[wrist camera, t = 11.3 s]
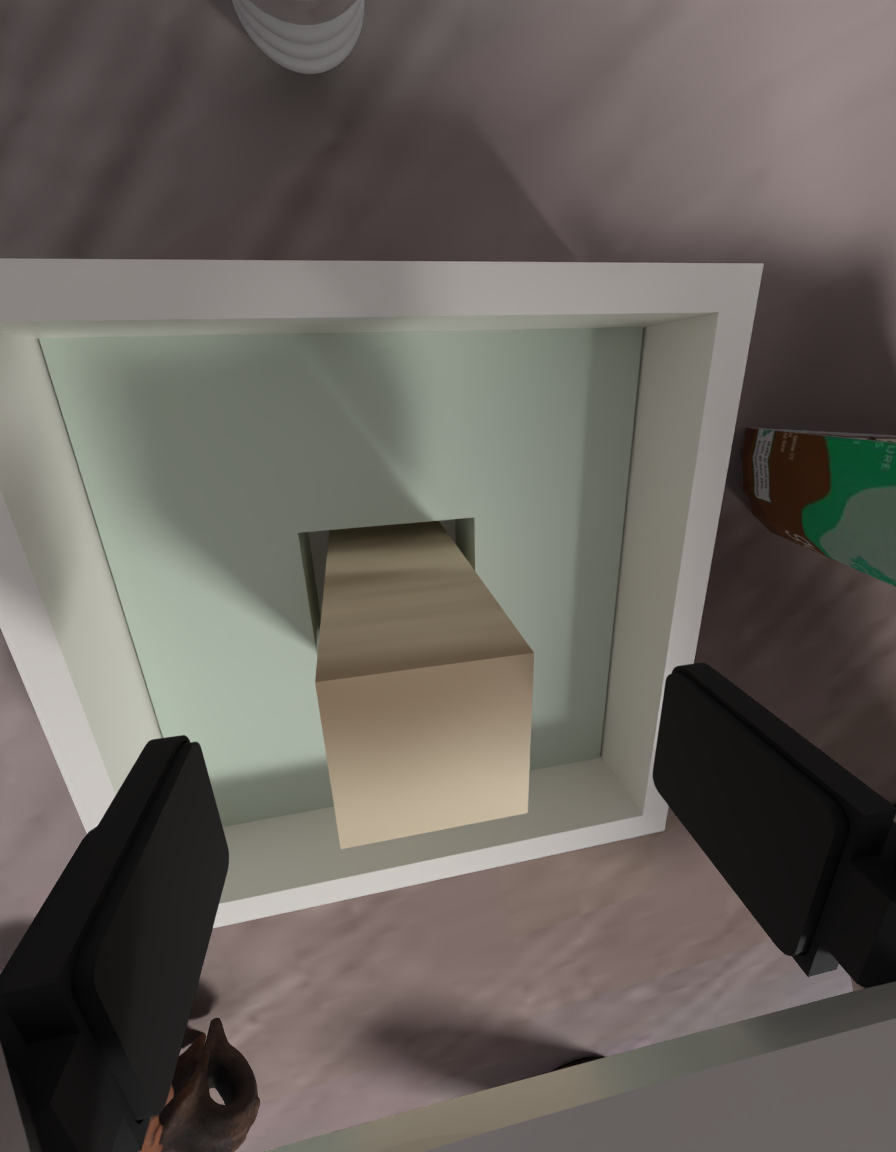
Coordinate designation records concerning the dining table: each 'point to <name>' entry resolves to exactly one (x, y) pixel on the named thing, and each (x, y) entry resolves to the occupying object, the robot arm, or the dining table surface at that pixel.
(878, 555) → the food container
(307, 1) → the light bulb
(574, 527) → the bore plate
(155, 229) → the dining table surface
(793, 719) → the dining table surface
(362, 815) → the maple peg
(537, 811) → the open box
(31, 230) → the dining table surface
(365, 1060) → the dining table surface
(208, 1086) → the brown looped sculpture
